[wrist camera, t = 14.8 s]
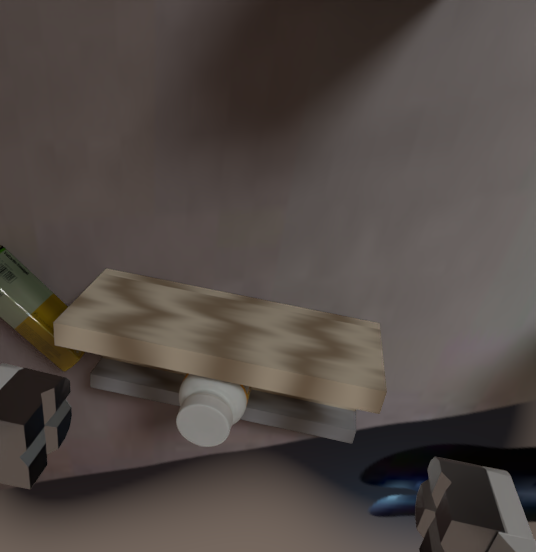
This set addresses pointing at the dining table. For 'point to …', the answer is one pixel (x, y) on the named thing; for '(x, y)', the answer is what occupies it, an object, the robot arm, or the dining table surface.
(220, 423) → the supplement bottle
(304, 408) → the cleat board
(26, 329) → the medication box
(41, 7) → the dining table surface
